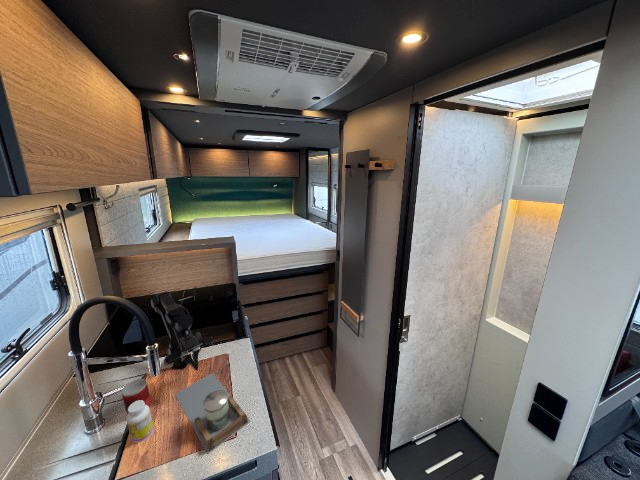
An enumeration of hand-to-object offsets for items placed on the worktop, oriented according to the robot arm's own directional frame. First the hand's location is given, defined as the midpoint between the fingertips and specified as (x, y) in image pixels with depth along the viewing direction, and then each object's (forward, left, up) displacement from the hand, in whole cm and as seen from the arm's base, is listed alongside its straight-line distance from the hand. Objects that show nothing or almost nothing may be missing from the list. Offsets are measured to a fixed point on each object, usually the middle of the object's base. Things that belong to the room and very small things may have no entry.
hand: (197, 370), depth 103 cm
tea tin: (+13, -13, -11) cm, 21 cm away
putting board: (+7, -7, -12) cm, 15 cm away
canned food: (-21, -7, -12) cm, 25 cm away
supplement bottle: (-13, -17, -12) cm, 24 cm away
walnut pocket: (+14, -14, -12) cm, 23 cm away
